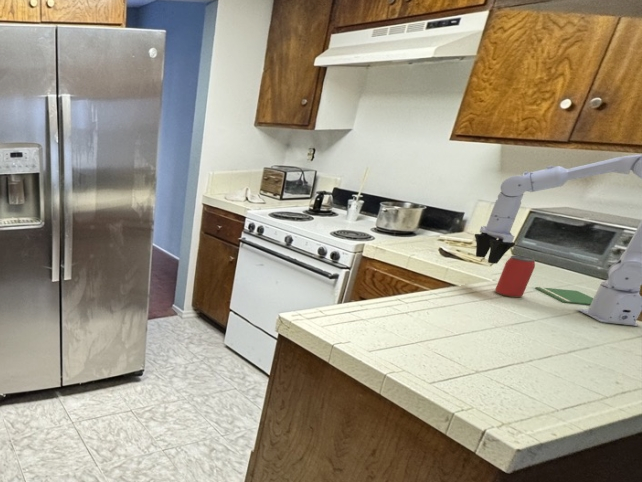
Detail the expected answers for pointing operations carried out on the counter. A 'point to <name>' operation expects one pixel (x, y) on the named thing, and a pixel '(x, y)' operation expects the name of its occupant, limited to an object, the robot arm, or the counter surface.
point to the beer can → (515, 276)
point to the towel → (567, 296)
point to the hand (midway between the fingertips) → (486, 259)
